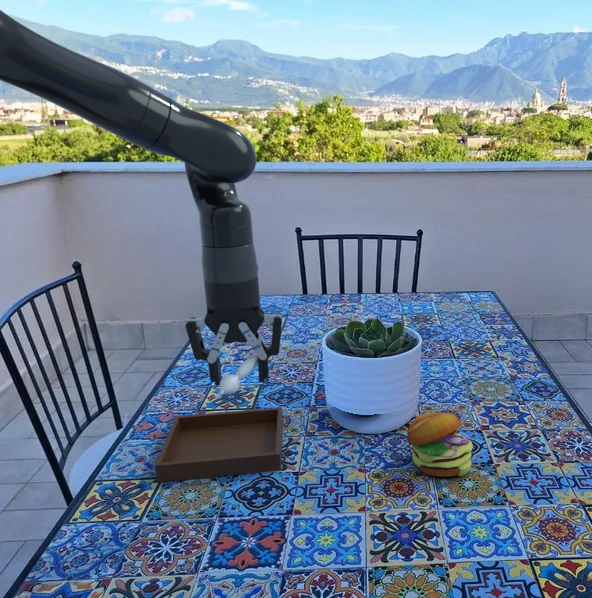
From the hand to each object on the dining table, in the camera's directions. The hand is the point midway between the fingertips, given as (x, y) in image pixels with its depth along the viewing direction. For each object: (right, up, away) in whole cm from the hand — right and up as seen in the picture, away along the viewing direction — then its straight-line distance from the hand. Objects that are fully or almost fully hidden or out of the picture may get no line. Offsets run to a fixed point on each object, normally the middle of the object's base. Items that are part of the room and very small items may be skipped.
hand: (240, 381), depth 85 cm
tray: (-6, -14, +14) cm, 21 cm away
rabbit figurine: (0, -2, +1) cm, 2 cm away
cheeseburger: (+31, -15, +9) cm, 36 cm away
